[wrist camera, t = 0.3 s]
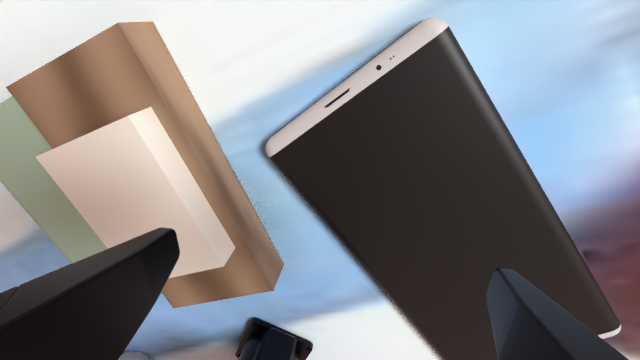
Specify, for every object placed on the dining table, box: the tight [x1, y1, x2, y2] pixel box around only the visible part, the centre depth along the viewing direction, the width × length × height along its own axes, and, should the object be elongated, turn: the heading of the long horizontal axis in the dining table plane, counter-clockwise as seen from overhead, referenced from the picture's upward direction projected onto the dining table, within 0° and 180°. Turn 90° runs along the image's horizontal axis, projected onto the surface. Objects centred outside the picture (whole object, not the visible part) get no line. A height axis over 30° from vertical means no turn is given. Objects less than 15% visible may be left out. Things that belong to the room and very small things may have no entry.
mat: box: [0, 97, 108, 263], centre depth 28 cm, size 12×20×1 cm, turn 22°
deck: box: [6, 22, 284, 308], centre depth 24 cm, size 10×20×3 cm, turn 22°
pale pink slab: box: [36, 107, 235, 278], centre depth 22 cm, size 11×8×2 cm
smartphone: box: [266, 18, 621, 360], centre depth 23 cm, size 13×27×2 cm, turn 38°
